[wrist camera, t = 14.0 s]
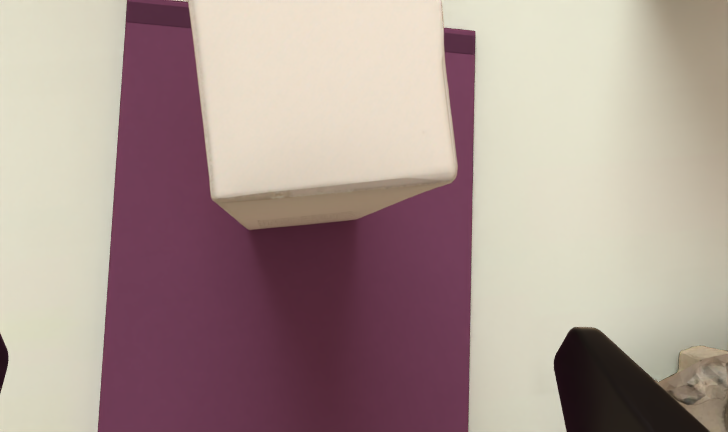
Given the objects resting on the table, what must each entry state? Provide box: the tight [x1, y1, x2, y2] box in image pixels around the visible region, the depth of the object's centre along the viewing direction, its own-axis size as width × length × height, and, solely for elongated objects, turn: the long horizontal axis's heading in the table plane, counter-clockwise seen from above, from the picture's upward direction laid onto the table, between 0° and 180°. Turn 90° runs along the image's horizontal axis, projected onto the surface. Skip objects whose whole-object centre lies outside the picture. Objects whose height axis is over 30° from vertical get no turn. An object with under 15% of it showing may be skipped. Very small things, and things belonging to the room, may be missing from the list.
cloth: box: [98, 0, 475, 432], centre depth 21 cm, size 18×13×1 cm
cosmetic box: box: [188, 0, 458, 230], centre depth 15 cm, size 6×4×12 cm
